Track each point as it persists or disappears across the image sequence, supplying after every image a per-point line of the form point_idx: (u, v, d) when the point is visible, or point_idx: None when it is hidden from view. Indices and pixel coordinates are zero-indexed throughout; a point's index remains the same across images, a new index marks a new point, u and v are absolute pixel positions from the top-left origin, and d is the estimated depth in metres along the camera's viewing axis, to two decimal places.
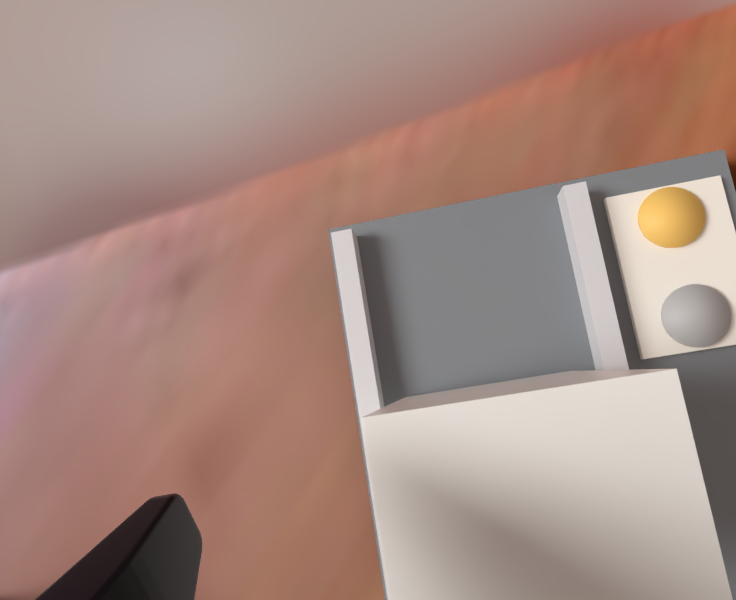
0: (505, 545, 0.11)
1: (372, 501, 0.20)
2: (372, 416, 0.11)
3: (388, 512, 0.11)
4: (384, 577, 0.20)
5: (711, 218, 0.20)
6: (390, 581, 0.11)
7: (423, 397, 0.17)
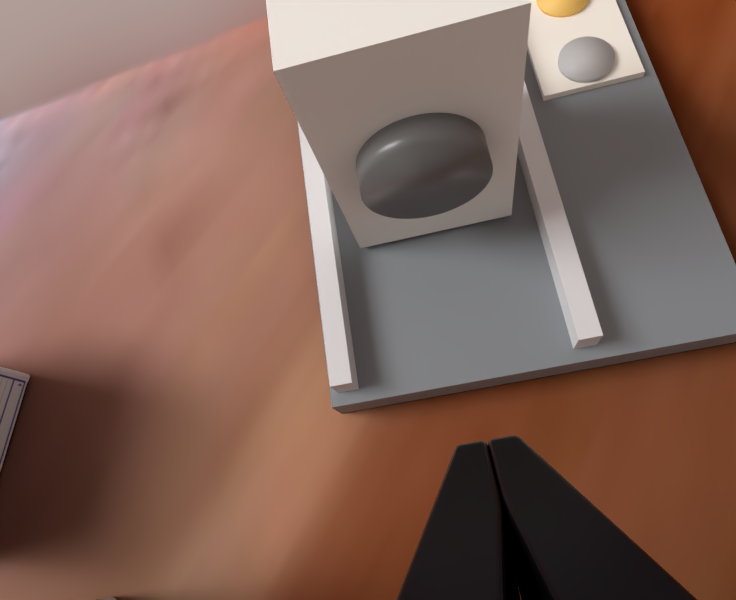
0: None
1: (308, 212, 0.23)
2: None
3: None
4: (316, 269, 0.22)
5: None
6: (270, 9, 0.14)
7: None
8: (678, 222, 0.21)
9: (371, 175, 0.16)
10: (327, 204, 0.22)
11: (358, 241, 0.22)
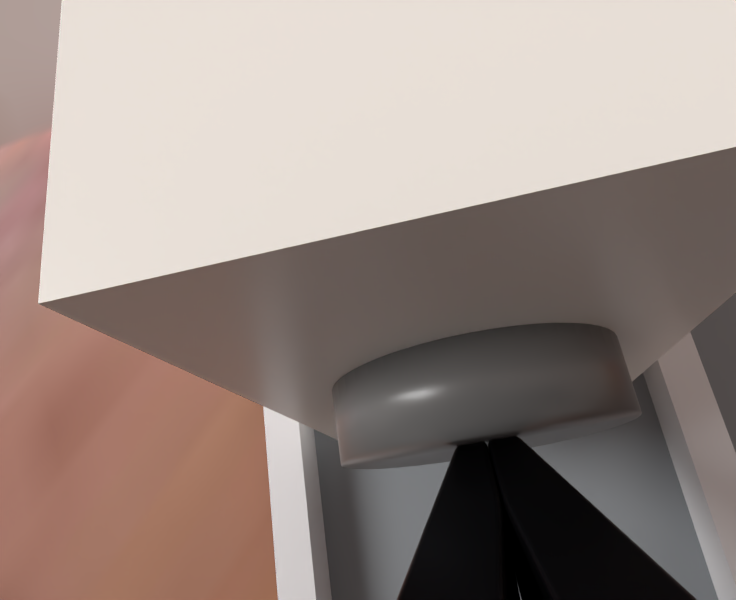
0: None
1: (265, 426, 0.13)
2: None
3: None
4: (274, 546, 0.12)
5: None
6: (60, 88, 0.05)
7: None
8: None
9: (364, 454, 0.07)
10: None
11: None
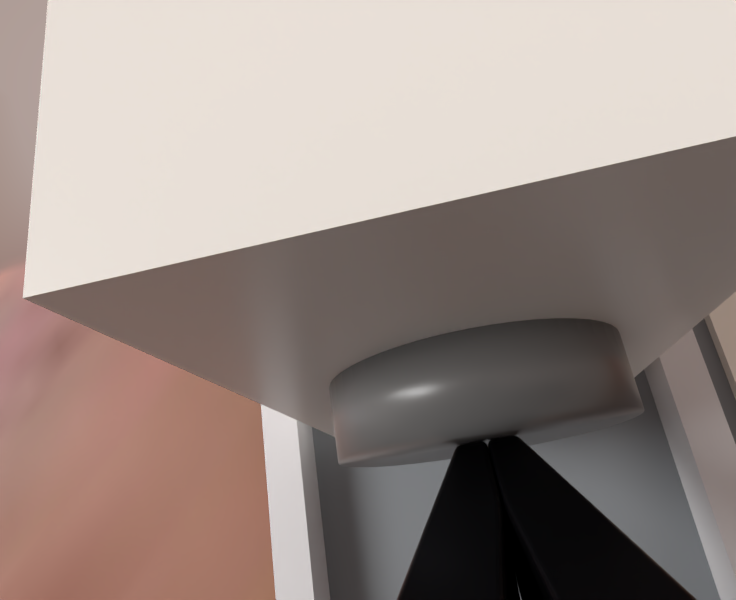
0: None
1: None
2: None
3: None
4: None
5: None
6: (47, 76, 0.05)
7: None
8: None
9: (362, 452, 0.07)
10: None
11: None
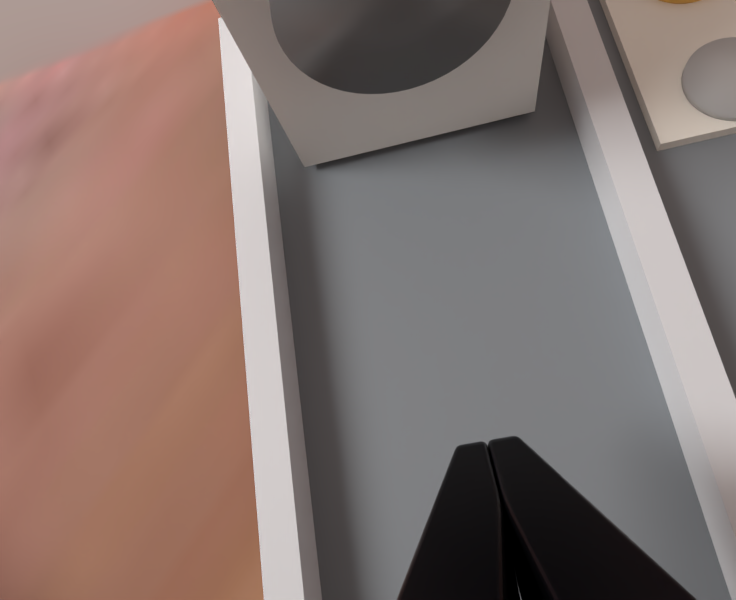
0: None
1: (245, 358, 0.13)
2: None
3: None
4: (255, 476, 0.12)
5: None
6: None
7: None
8: None
9: None
10: (278, 344, 0.13)
11: (299, 153, 0.14)
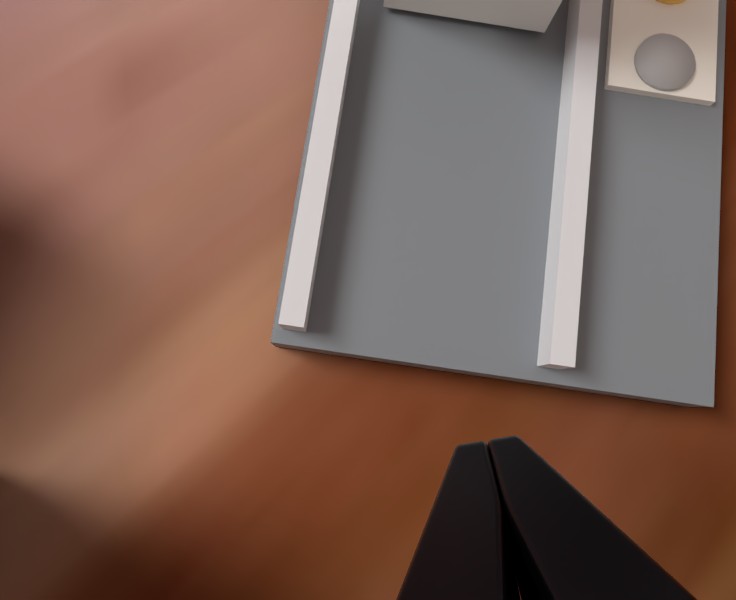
0: None
1: (314, 114, 0.19)
2: None
3: None
4: (302, 186, 0.18)
5: None
6: None
7: None
8: (682, 275, 0.20)
9: None
10: (338, 113, 0.19)
11: None
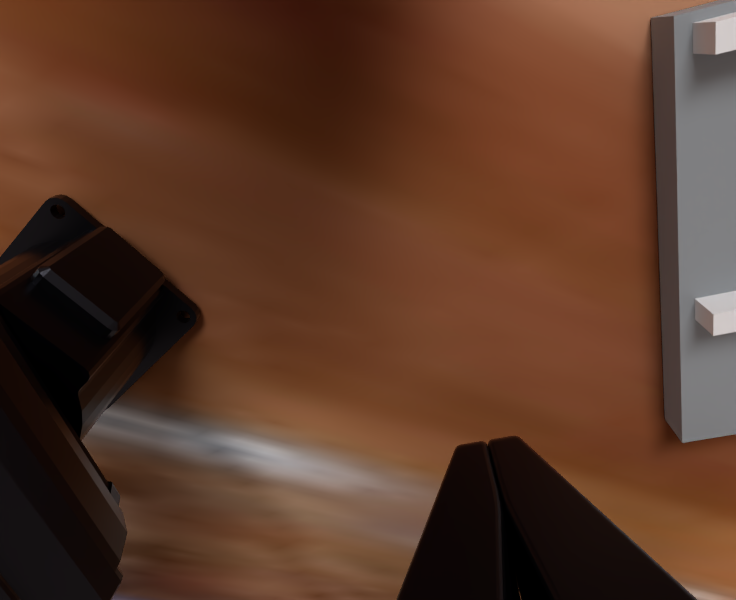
0: None
1: None
2: None
3: None
4: None
5: None
6: None
7: None
8: None
9: None
10: None
11: None
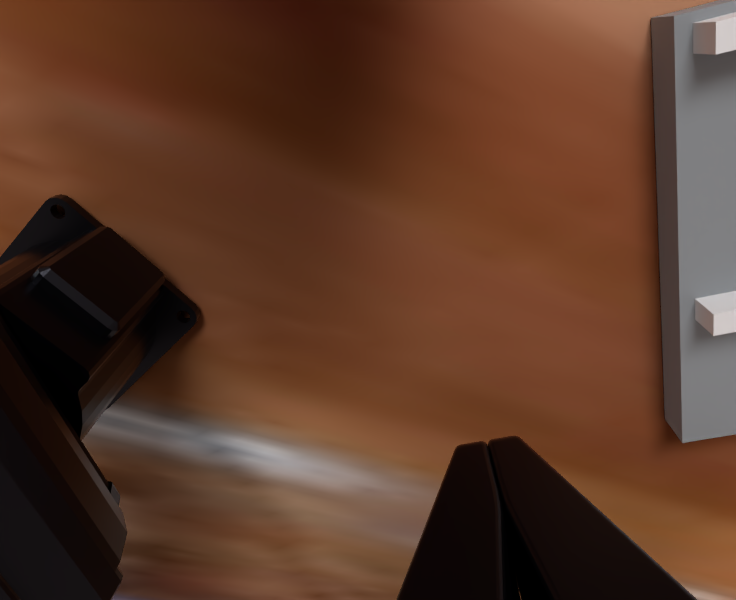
0: None
1: None
2: None
3: None
4: None
5: None
6: None
7: None
8: None
9: None
10: None
11: None
